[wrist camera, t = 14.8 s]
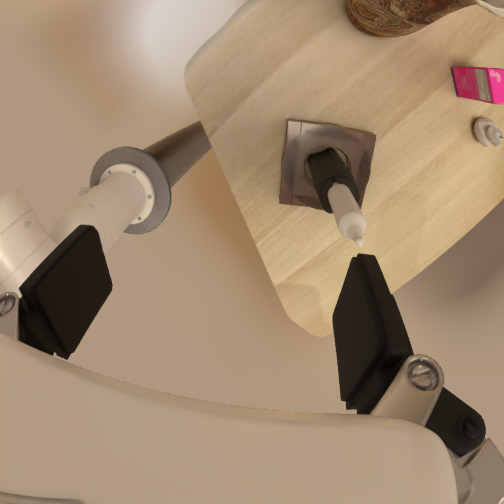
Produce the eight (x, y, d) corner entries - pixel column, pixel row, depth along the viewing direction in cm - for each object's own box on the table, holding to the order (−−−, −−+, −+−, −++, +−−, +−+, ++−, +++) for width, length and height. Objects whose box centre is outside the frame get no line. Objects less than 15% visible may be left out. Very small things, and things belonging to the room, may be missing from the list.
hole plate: (278, 198, 49) (277, 204, 47) (286, 117, 41) (286, 118, 39) (357, 209, 48) (360, 215, 46) (373, 131, 40) (377, 134, 38)
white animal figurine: (476, 109, 33) (502, 117, 26) (495, 130, 34) (520, 141, 27) (465, 130, 36) (490, 141, 29) (484, 150, 37) (508, 164, 30)
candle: (316, 183, 46) (341, 274, 26) (305, 156, 44) (324, 230, 23) (343, 173, 45) (391, 257, 24) (333, 145, 42) (380, 210, 22)
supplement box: (472, 66, 29) (511, 69, 19) (478, 96, 32) (517, 106, 22) (449, 65, 30) (487, 67, 21) (456, 97, 33) (494, 106, 24)
